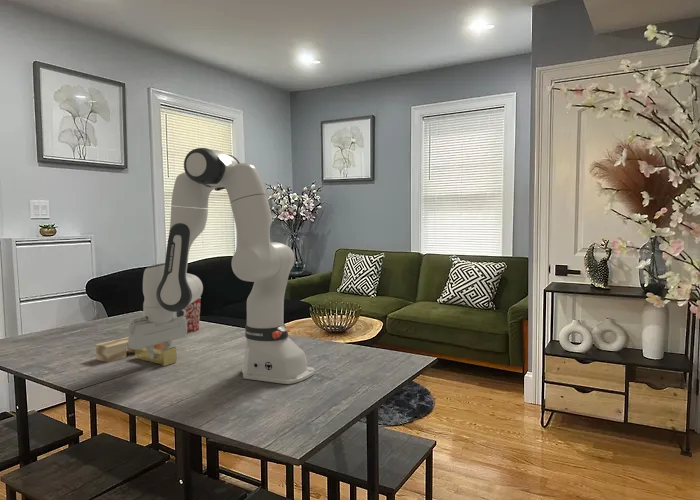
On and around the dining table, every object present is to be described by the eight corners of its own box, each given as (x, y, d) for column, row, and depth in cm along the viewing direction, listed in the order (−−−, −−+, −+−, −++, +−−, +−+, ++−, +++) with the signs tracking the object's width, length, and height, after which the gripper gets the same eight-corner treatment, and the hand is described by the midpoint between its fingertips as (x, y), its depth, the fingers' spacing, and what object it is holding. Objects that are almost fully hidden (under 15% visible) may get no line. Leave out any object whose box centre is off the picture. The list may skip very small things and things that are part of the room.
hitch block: (150, 350, 170) (150, 336, 170) (107, 362, 156) (107, 347, 156) (139, 348, 173) (138, 334, 173) (96, 359, 159) (95, 344, 159)
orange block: (165, 351, 169) (165, 339, 169) (159, 352, 167) (159, 341, 167) (157, 349, 171) (157, 338, 171) (152, 351, 169) (151, 339, 169)
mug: (206, 329, 202) (205, 297, 201) (186, 333, 195) (186, 300, 194) (188, 325, 210) (188, 293, 209) (169, 328, 203) (168, 296, 202)
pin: (176, 362, 157) (176, 347, 156) (163, 366, 153) (163, 351, 152) (145, 355, 165) (145, 341, 164) (133, 358, 160) (132, 344, 160)
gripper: (136, 321, 146) (137, 366, 147) (189, 309, 163) (190, 350, 164) (122, 318, 149) (124, 363, 150) (176, 308, 167) (177, 347, 168)
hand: (159, 356), depth 157 cm, fingers closed on pin, 3 cm apart
